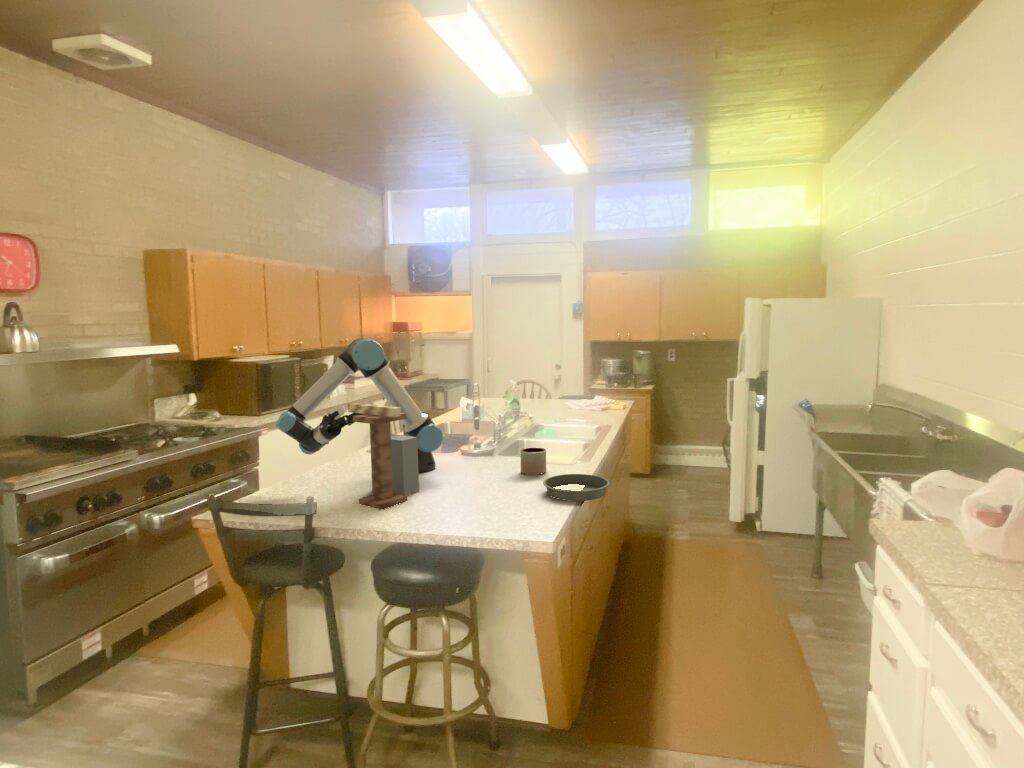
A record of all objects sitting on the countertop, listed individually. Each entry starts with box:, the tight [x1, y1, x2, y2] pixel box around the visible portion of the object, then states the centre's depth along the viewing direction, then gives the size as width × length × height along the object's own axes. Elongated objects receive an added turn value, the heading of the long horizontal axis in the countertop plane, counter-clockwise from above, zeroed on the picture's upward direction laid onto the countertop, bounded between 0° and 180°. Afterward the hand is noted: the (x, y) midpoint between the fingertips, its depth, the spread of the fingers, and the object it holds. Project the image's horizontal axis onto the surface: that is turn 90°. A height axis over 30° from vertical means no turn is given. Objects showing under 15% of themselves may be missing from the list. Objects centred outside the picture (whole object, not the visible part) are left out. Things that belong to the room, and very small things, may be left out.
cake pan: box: [542, 473, 611, 502], centre depth 245 cm, size 25×25×4 cm
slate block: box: [369, 433, 420, 496], centre depth 251 cm, size 17×8×21 cm, turn 54°
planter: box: [520, 446, 547, 475], centre depth 278 cm, size 11×11×10 cm
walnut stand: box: [353, 413, 408, 510], centre depth 235 cm, size 12×14×32 cm
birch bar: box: [347, 402, 401, 417], centre depth 235 cm, size 24×3×3 cm, turn 54°
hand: (359, 405), depth 238 cm, fingers open, 13 cm apart
